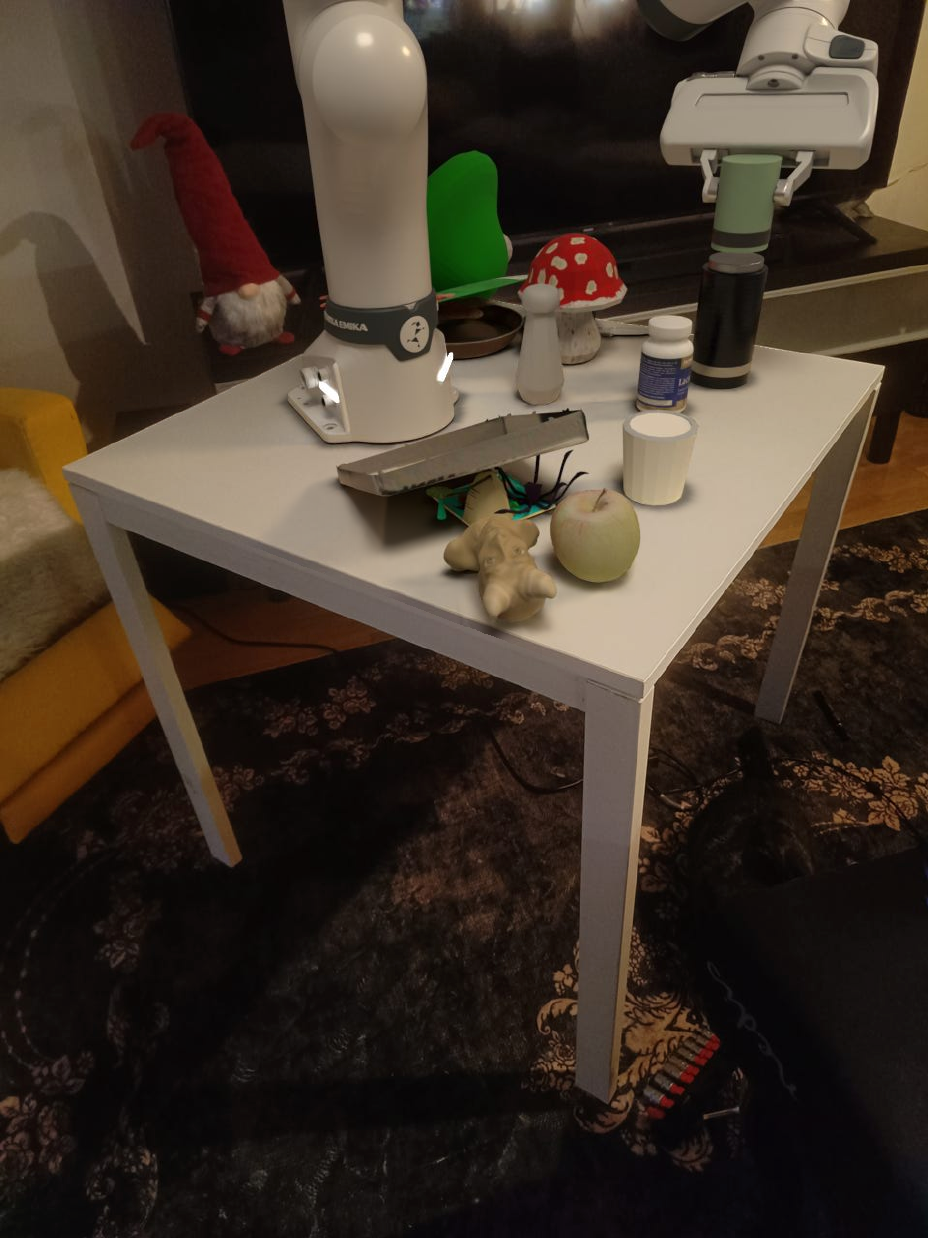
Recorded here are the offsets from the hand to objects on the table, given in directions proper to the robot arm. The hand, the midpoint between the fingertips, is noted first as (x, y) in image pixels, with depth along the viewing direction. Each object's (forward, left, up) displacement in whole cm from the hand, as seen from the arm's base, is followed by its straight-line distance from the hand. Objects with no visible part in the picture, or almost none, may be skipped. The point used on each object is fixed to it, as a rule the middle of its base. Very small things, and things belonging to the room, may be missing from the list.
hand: (745, 200), depth 79 cm
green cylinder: (0, +1, -4) cm, 4 cm away
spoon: (-33, +1, -19) cm, 38 cm away
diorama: (+1, -33, -22) cm, 39 cm away
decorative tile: (-7, -45, -18) cm, 49 cm away
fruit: (+14, -34, -22) cm, 43 cm away
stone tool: (-36, -3, -17) cm, 40 cm away
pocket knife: (-25, +9, -21) cm, 34 cm away
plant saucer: (-39, -7, -22) cm, 45 cm away
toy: (-56, 0, -9) cm, 57 cm away
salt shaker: (-16, -13, -22) cm, 30 cm away
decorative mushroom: (-23, 0, -22) cm, 32 cm away
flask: (-5, +7, -22) cm, 23 cm away
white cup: (+8, -20, -22) cm, 31 cm away
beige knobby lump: (+7, -40, -18) cm, 44 cm away
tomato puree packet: (-38, -17, -14) cm, 44 cm away
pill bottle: (-4, -5, -22) cm, 23 cm away
